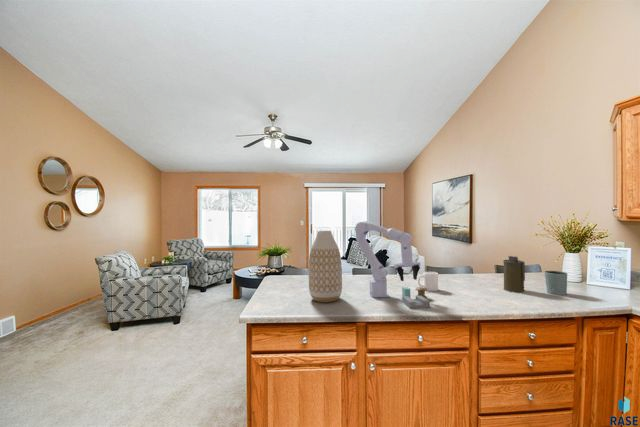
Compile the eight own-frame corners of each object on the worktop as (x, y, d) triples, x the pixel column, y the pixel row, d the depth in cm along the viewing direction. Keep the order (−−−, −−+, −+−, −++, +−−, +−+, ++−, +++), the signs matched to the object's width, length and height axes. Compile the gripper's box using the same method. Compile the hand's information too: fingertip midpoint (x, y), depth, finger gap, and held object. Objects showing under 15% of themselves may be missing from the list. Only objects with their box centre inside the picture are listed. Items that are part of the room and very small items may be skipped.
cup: (440, 291, 172) (440, 274, 172) (420, 291, 172) (419, 274, 172) (435, 287, 180) (434, 271, 180) (415, 287, 180) (415, 271, 180)
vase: (340, 305, 149) (338, 232, 149) (305, 303, 153) (304, 232, 153) (344, 295, 167) (343, 229, 167) (313, 294, 171) (312, 230, 171)
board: (409, 308, 143) (409, 302, 143) (402, 302, 153) (402, 296, 153) (429, 307, 144) (429, 301, 144) (421, 301, 154) (421, 295, 154)
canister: (499, 289, 174) (499, 256, 174) (510, 287, 178) (509, 254, 178) (518, 293, 164) (517, 258, 164) (529, 291, 168) (528, 257, 168)
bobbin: (418, 299, 157) (418, 290, 157) (414, 296, 163) (413, 287, 163) (429, 299, 157) (428, 289, 157) (424, 295, 163) (424, 287, 163)
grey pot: (568, 296, 157) (568, 274, 157) (544, 293, 163) (544, 272, 163) (567, 292, 165) (566, 271, 165) (544, 289, 171) (544, 269, 171)
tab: (407, 301, 153) (406, 290, 153) (402, 298, 160) (402, 287, 160) (412, 301, 153) (412, 290, 153) (407, 297, 160) (407, 287, 160)
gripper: (397, 257, 153) (399, 282, 153) (422, 254, 156) (424, 280, 155) (392, 255, 160) (393, 280, 160) (416, 253, 163) (417, 277, 162)
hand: (408, 280), depth 158 cm, fingers open, 7 cm apart
